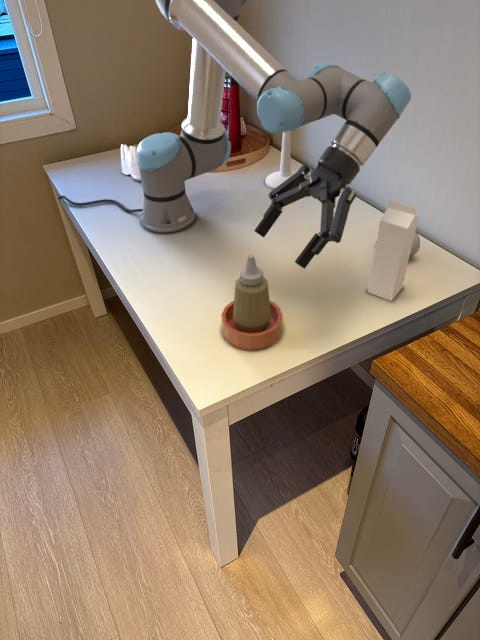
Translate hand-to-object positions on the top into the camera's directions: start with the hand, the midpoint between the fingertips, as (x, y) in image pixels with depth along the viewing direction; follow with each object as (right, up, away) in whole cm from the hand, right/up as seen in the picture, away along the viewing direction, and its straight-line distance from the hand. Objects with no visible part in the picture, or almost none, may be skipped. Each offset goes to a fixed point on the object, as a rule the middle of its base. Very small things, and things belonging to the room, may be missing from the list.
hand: (278, 249), depth 95 cm
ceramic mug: (+31, +3, +29) cm, 43 cm away
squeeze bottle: (-5, -16, +9) cm, 18 cm away
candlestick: (+7, +31, +63) cm, 71 cm away
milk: (+26, -7, +18) cm, 33 cm away
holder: (-5, -16, +9) cm, 19 cm away
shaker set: (-43, +35, +69) cm, 88 cm away
